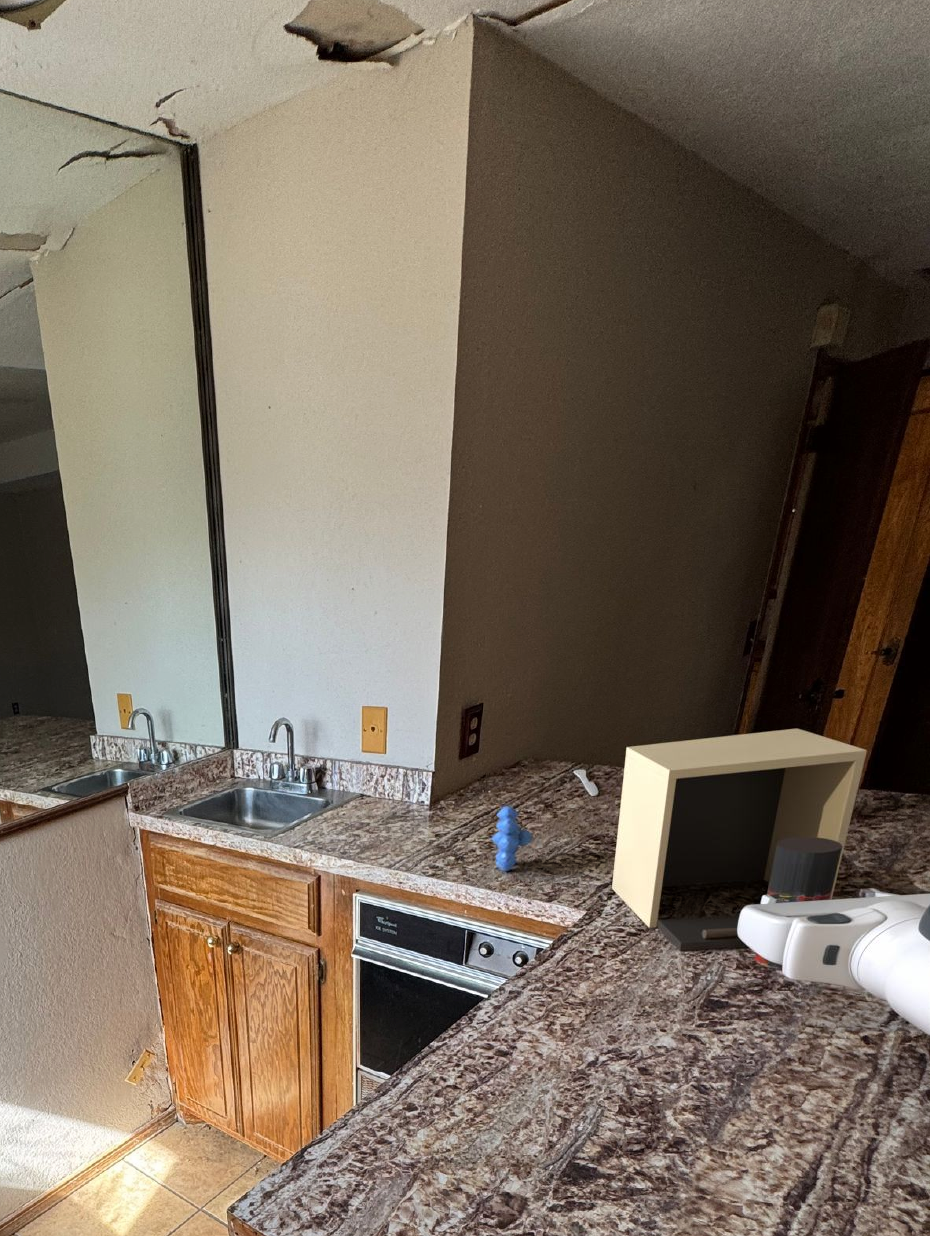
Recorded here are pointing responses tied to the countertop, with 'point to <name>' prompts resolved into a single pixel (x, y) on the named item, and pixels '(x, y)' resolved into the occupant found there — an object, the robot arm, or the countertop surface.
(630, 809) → the cream cabinet
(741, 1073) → the countertop surface
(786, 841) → the deodorant
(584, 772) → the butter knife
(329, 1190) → the countertop surface
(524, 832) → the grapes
